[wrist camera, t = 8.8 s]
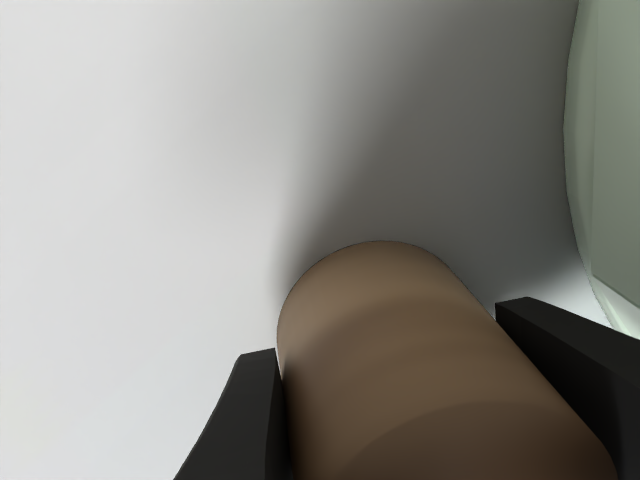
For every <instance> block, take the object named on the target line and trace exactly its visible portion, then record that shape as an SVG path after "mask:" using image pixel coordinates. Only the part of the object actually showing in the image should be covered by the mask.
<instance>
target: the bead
mask: <svg viewBox="0 0 640 480" xmlns="http://www.w3.org/2000/svg"><path fill="white" fill-rule="evenodd" d="M277 348H278V356H279V365H280V373H281V380H282V387H283V396H284V404H285V412H286V423H287V432H288V440H289V448H290V457H291V465H292V473H293V480H618V476H617V471H616V469H615V466H614V464H613V461H612V459H611V456H610V455H609V453H608V451H607V450H606V448H605V447H604V445H603V444H602V442H601V441H600V440H599V439H598V438H597V437H596V435H595V434H594V433H593V432H592V431H591V430H590V429H589V427H588V426H587V425H586V424H585V423H584V422H583V421H582V419H581V418H580V417H579V416H578V415H577V414H576V412H575V411H574V410H573V409H572V408H571V407H570V406H569V404H568V403H567V402H566V401H565V400H564V399H563V398H562V396H561V395H560V394H559V393H558V392H557V391H556V390H555V388H554V387H553V386H552V385H551V384H550V383H549V382H548V380H547V379H546V378H545V377H544V376H543V375H542V374H541V372H540V371H539V370H538V369H537V368H536V367H535V365H534V364H533V363H532V362H531V361H530V360H529V359H528V357H527V356H526V355H525V354H524V353H523V352H522V351H521V349H520V348H519V347H518V346H517V345H516V344H515V343H514V341H513V340H512V339H511V338H510V337H509V336H508V335H507V333H506V332H505V331H504V330H503V329H502V328H501V327H500V325H499V324H498V323H497V322H496V321H495V320H494V318H493V317H492V316H491V315H490V314H489V313H488V312H487V310H486V309H485V308H484V307H483V306H482V305H481V304H480V302H479V301H478V300H477V299H476V298H475V297H474V296H473V294H472V293H471V292H470V291H469V290H468V289H467V288H466V286H465V285H464V284H463V283H462V282H461V281H460V280H459V278H458V277H457V276H456V275H455V274H454V273H453V272H452V270H451V269H450V268H449V267H448V266H447V265H446V264H445V263H444V262H443V261H441V260H440V259H439V258H438V257H436V256H435V255H433V254H431V253H429V252H428V251H426V250H424V249H421V248H419V247H416V246H414V245H410V244H406V243H402V242H394V241H372V242H365V243H360V244H356V245H352V246H349V247H346V248H343V249H341V250H338V251H336V252H334V253H332V254H330V255H328V256H327V257H325V258H323V259H322V260H320V261H319V262H318V263H316V264H315V265H313V266H312V267H311V268H310V269H309V270H308V271H307V272H306V273H305V274H303V276H302V277H301V278H300V279H299V280H298V281H297V283H296V284H295V285H294V287H293V288H292V290H291V291H290V293H289V294H288V296H287V298H286V300H285V302H284V304H283V306H282V310H281V313H280V316H279V320H278V326H277Z"/></svg>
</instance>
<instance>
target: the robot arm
mask: <svg viewBox="0 0 640 480" xmlns="http://www.w3.org/2000/svg"><path fill="white" fill-rule="evenodd" d="M495 314H496V322H497V323H498V324H499V325H500V327H501V328H502V329H503V330H504V331H505V332H506V333H507V335H508V336H509V337H510V338H511V339H512V340H513V341H514V343H515V344H516V345H517V346H518V347H519V348H520V349H521V351H522V352H523V353H524V354H525V355H526V356H527V357H528V359H529V360H530V361H531V362H532V363H533V364H534V365H535V367H536V368H537V369H538V370H539V371H540V372H541V374H542V375H543V376H544V377H545V378H546V379H547V380H548V382H549V383H550V384H551V385H552V386H553V387H554V388H555V390H556V391H557V392H558V393H559V394H560V395H561V396H562V398H563V399H564V400H565V401H566V402H567V403H568V404H569V406H570V407H571V408H572V409H573V410H574V411H575V412H576V414H577V415H578V416H579V417H580V418H581V419H582V421H583V422H584V423H585V424H586V425H587V426H588V427H589V429H590V430H591V431H592V432H593V433H594V434H595V435H596V437H597V438H598V439H599V440H600V441H601V442H602V444H603V445H604V447H605V448H606V450H607V451H608V453H609V455H610V456H611V459H612V461H613V464H614V466H615V469H616V471H617V476H618V480H640V340H639V339H637V338H634V337H632V336H629V335H626V334H624V333H621V332H619V331H616V330H614V329H611V328H609V327H606V326H604V325H601V324H599V323H596V322H594V321H591V320H589V319H586V318H584V317H581V316H579V315H576V314H574V313H571V312H569V311H566V310H564V309H561V308H559V307H556V306H554V305H551V304H548V303H546V302H543V301H540V300H537V299H534V298H530V297H523V298H518V299H513V300H508V301H503V302H498V303H495ZM173 480H293V473H292V465H291V457H290V448H289V440H288V432H287V423H286V412H285V404H284V396H283V387H282V380H281V375H280V371H279V366H278V361H277V356H276V351H275V348H271V349H266V350H261V351H256V352H251V353H246V354H241V355H240V356H239V358H238V359H237V360H236V362H235V364H234V367H233V370H232V372H231V374H230V377H229V379H228V381H227V384H226V386H225V388H224V390H223V392H222V394H221V396H220V399H219V401H218V403H217V405H216V407H215V409H214V410H213V412H212V414H211V416H210V418H209V420H208V422H207V424H206V426H205V428H204V429H203V431H202V433H201V435H200V437H199V438H198V440H197V442H196V444H195V445H194V447H193V448H192V450H191V452H190V453H189V455H188V457H187V458H186V460H185V462H184V463H183V465H182V466H181V468H180V470H179V471H178V473H177V475H176V476H175V478H174V479H173Z"/></svg>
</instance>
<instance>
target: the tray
mask: <svg viewBox="0 0 640 480" xmlns="http://www.w3.org/2000/svg"><path fill="white" fill-rule="evenodd" d="M563 135H564V153H565V172H566V190H567V197H568V202H569V207H570V212H571V217H572V222H573V228H574V233H575V238H576V243H577V248H578V250H579V253H580V256H581V259H582V262H583V265H584V267H585V270H586V273H587V276H588V279H589V281H590V284H591V287H592V290H593V293H594V295H595V297H596V299H597V300H598V302H599V304H600V306H601V308H602V309H603V311H604V313H605V315H606V317H607V318H608V320H609V322H610V324H611V326H612V328H613V329H614V330H616V331H619V332H621V333H624V334H626V335H629V336H632V337H634V338H637V339H639V340H640V0H579V5H578V11H577V16H576V21H575V26H574V32H573V37H572V42H571V48H570V53H569V58H568V70H567V84H566V98H565V112H564V126H563Z"/></svg>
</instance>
